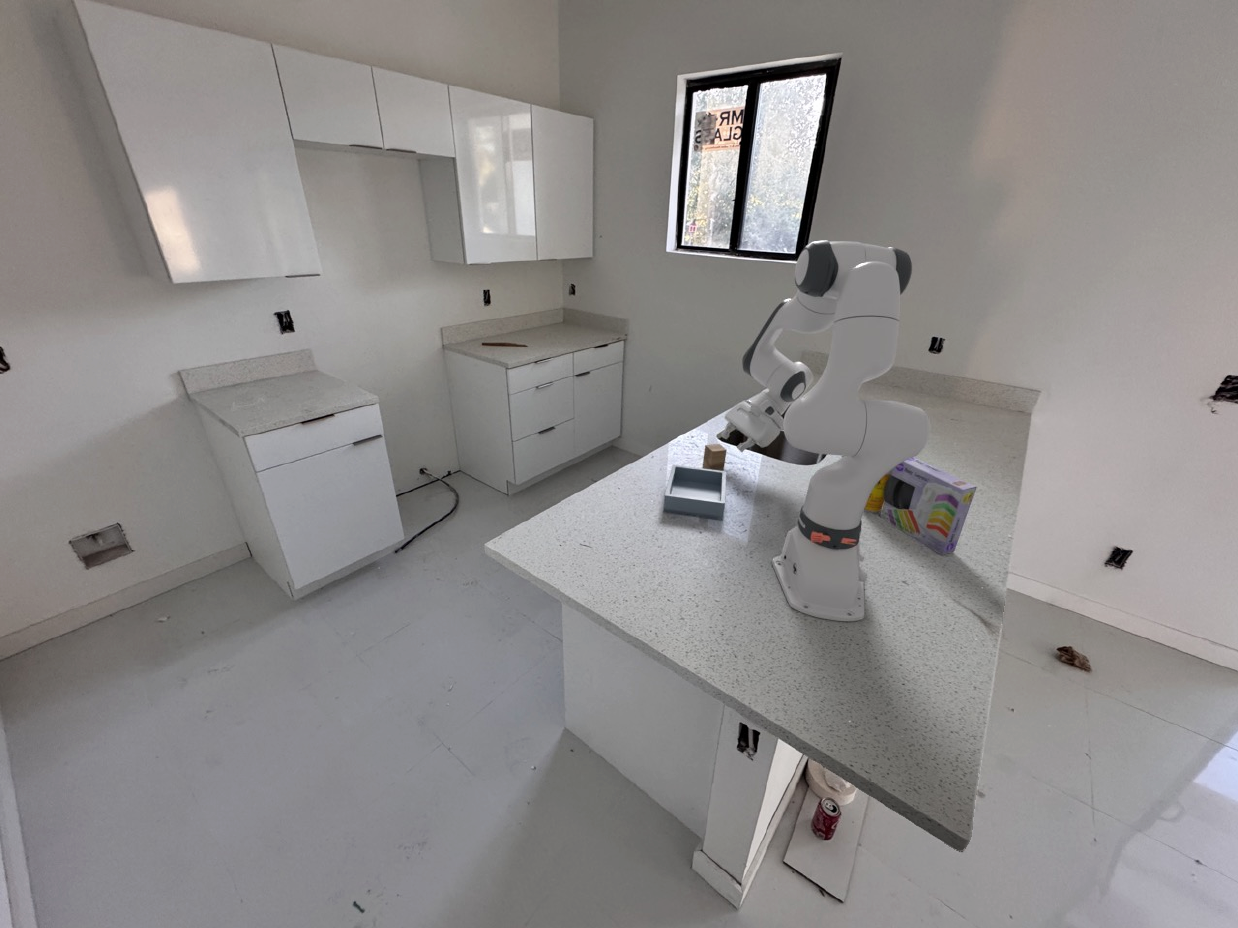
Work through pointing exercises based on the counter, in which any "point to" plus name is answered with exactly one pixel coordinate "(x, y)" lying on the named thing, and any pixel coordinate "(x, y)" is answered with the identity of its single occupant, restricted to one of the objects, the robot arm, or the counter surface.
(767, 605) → the counter surface
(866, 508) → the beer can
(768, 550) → the counter surface
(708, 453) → the walnut block
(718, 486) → the tote
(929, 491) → the cake pan box
